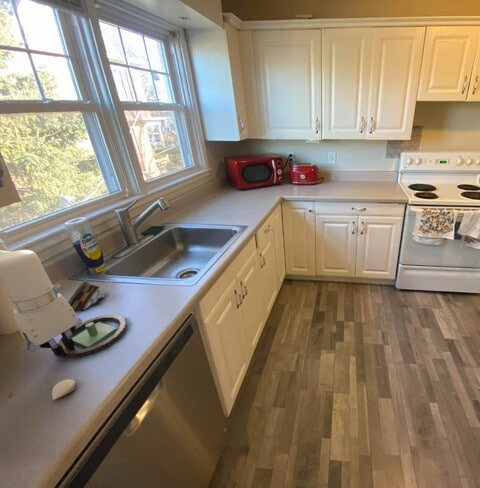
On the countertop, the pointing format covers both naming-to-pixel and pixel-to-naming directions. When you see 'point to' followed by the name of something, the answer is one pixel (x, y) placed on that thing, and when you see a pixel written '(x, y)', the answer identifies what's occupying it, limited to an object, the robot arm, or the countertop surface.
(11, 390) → the countertop surface
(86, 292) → the chocolate cake
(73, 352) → the hoop
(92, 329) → the peg stand
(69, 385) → the cream half-moon wedge
